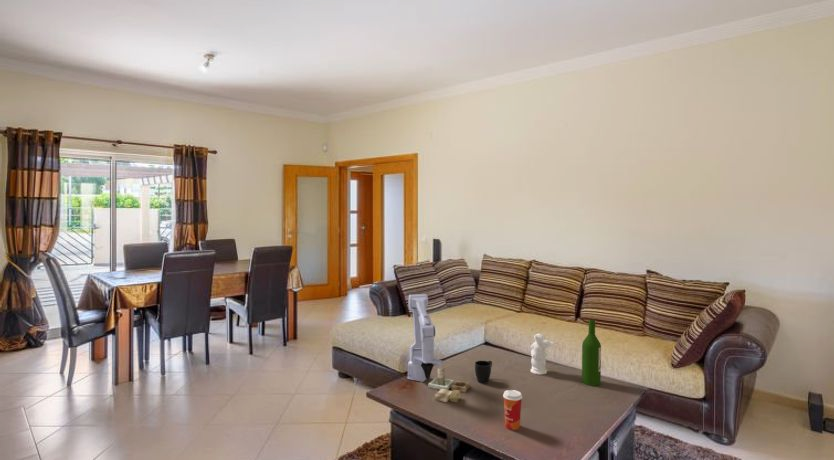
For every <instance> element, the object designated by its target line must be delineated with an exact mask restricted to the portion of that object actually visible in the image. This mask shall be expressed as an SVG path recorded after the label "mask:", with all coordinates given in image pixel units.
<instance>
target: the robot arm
mask: <svg viewBox="0 0 834 460" xmlns="http://www.w3.org/2000/svg"><path fill="white" fill-rule="evenodd" d="M407 301H408V302H407V303H408V310H409V311H411V312H412V320H413V336H414V340H413V341H414V343H412V344H411V345H410V346H409V360H408V363H407V378H406V379H407V380H412V381H415V382H421V383H423V382H425V381H426V380H429V379H431V373H432V370H433V367H434V366H435V365H436V366H439V367H442V366H443V363H444V362H443V360H440V359H437V358H435V356H434V355H435V351H434V350H435V342H434V341H435V337H436V327H435V326H436V325H435V324H434V323H432V320H431V316H430V314H429V313H427V308H428V304H429V296H428V294H427V293H424V294H423V293H422V294H421V293H420V294H409V295H408V300H407Z"/></svg>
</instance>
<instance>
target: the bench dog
mask: <svg viewBox="0 0 834 460" xmlns="http://www.w3.org/2000/svg"><path fill="white" fill-rule="evenodd" d="M451 391H452V392H451V393H450V399H449V401H450V402H454V403H457V402H458V401H459V400H460V399H461V391H459V390H451Z"/></svg>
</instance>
